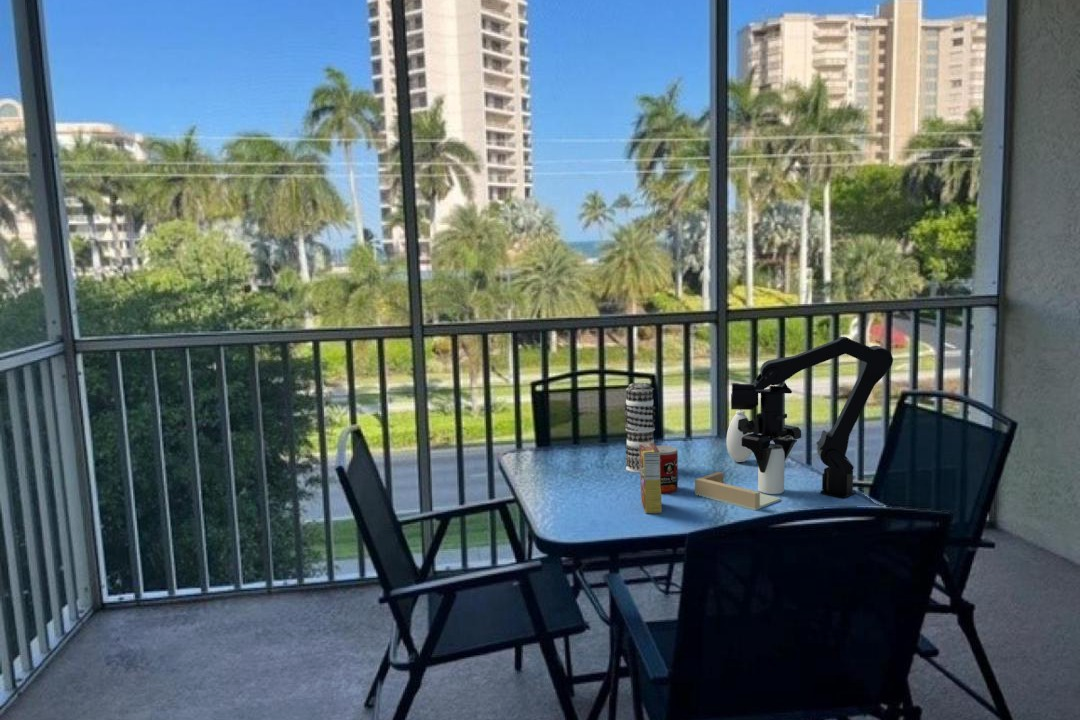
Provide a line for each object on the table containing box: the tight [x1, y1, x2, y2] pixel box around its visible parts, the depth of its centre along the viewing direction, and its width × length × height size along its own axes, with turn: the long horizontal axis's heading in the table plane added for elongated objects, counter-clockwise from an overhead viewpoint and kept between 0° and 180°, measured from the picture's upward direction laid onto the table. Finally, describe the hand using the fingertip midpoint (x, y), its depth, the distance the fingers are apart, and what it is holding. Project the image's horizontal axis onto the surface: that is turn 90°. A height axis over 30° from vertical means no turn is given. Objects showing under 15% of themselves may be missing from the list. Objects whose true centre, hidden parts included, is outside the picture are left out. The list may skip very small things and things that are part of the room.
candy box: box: [639, 442, 662, 514], centre depth 192 cm, size 9×4×15 cm, turn 0°
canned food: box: [656, 444, 679, 494], centre depth 207 cm, size 8×8×11 cm
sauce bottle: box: [726, 410, 754, 463], centre depth 232 cm, size 8×8×18 cm
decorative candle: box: [623, 382, 657, 474], centre depth 227 cm, size 9×9×25 cm
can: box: [757, 443, 786, 496], centre depth 203 cm, size 6×6×12 cm
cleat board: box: [694, 471, 782, 511], centre depth 199 cm, size 18×11×4 cm, turn 41°
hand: (771, 469), depth 203 cm, fingers open, 8 cm apart
